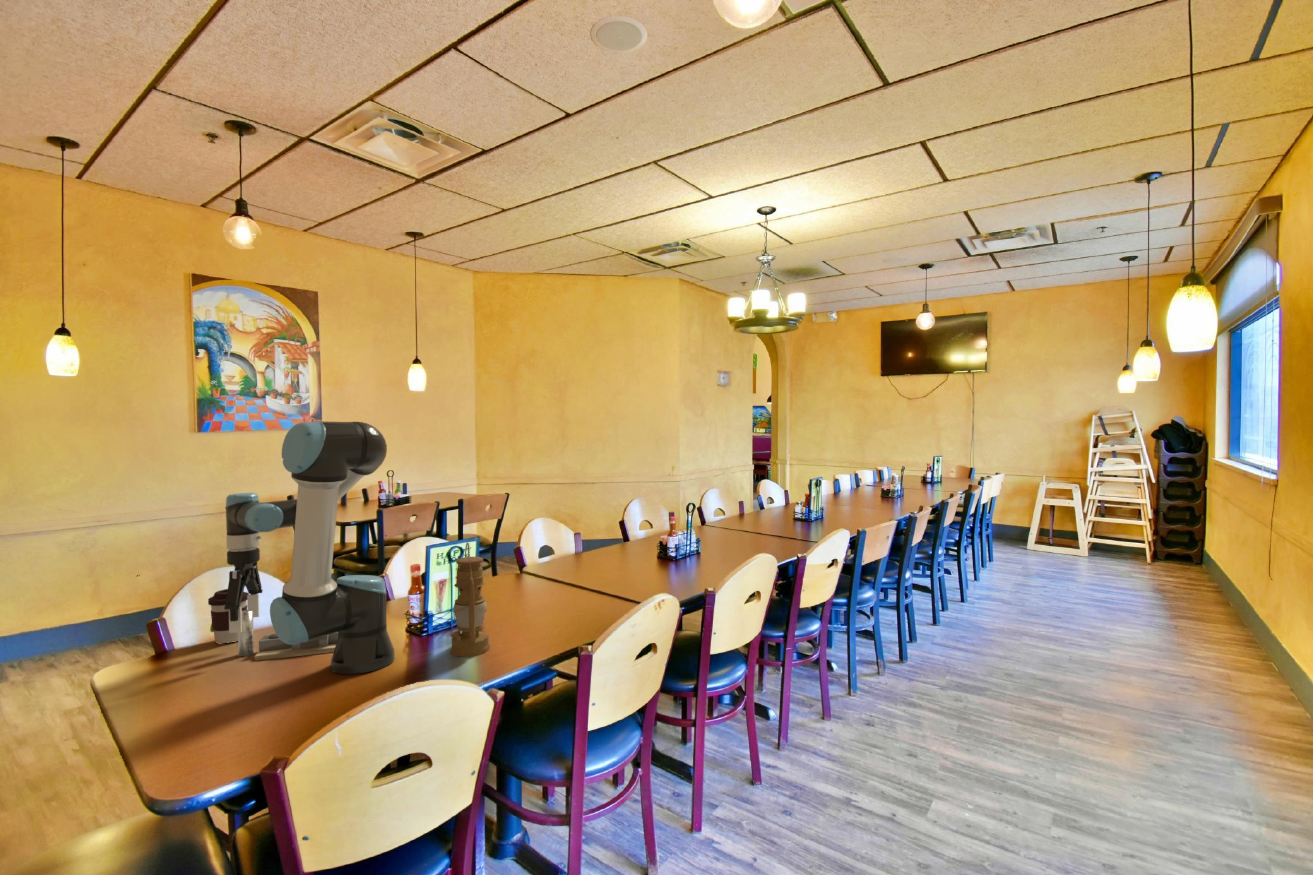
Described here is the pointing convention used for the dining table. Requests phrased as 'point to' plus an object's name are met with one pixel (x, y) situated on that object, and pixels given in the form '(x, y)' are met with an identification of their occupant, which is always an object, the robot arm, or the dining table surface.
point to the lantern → (469, 609)
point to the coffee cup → (223, 616)
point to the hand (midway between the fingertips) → (244, 624)
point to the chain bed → (293, 653)
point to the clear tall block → (246, 634)
